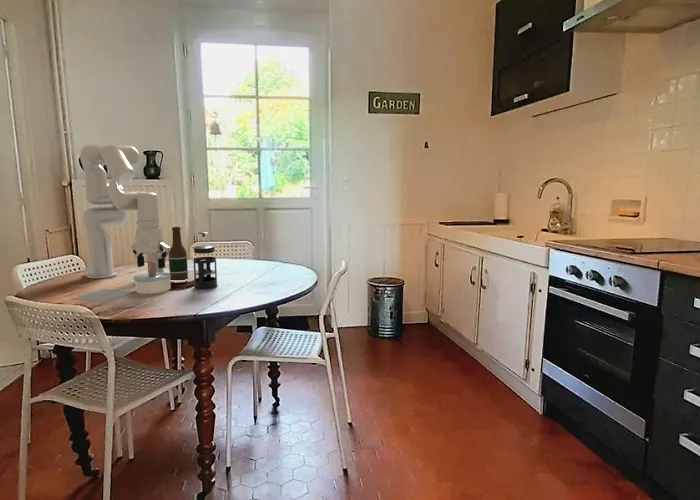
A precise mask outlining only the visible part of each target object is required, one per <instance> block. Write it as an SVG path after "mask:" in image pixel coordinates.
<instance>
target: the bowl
mask: <svg viewBox="0 0 700 500" xmlns="http://www.w3.org/2000/svg"><path fill="white" fill-rule="evenodd" d="M134 284H135V291H136V293H137V294H141V295H155V294H160V293H165V292H168V291H169V290H170V289H172V288H171V287H172V286H171V285H172V283H171V282H170V278H168V279H165V280H160V281H151V282H139V281H135V280H134Z"/></svg>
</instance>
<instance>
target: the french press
mask: <svg viewBox="0 0 700 500" xmlns="http://www.w3.org/2000/svg"><path fill="white" fill-rule="evenodd" d="M206 234H209V232H207V231H200V232H198V235H202V239H203V245H196V246H193V247H192V249H193V253H194V254H197V255H198V254H199V255H200V254H201V255H202V254H203V256H201V257H200V256H199V257H198V256H197V257H195V258H193V259H192V260H193V278H194V286H193V287H194V289H196V290H212V289H216V288H218V286H219V285H218V277H217V276H218V274H217V273H218V272H217V257H215V256H206V254H212V253H215V252H216V250H215V248H216V246H215V245H207V244H205V236H206ZM213 263H214V269H211V264H213ZM196 264H197V269H198V270H197V269H196ZM197 275H198V277H197ZM211 275H214V276H211Z"/></svg>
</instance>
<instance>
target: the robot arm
mask: <svg viewBox="0 0 700 500" xmlns="http://www.w3.org/2000/svg"><path fill="white" fill-rule="evenodd" d="M79 158H80V163H81V165H82V169H83V171H84V182H85V184H84V185H85V186H84V187H85V189H84V190H85V197H86V201H87V203H89V204H91V205H111V206H98V207H97V206H96V207H90V208H87V209H85V210H84V211H83V212H82V221H83V225H84V228H85V233H86V239H87V242H86V243H87V248H88V249H87V251H88V261H89V265H88V266H86V267H85V268H84V270H83V271H84V272H88V273H87V274H86V278H88V279H106V278H112V277H115V276H118V274H119V273H118V271H116V270H114V260H113V248H112V247H113V246H112V237H111V235H110V233H108V231H107V230H106V228H107V229H108V228H118V227H122V226H124V225H125V224H126V221H127V211H128V212H129V211H137V221H136V222H135V223H136V225H138V226H137V227H136V230H135V242H134V243H133V244H131V245H130V249H131V250H132V253H133V254H134V255H135V256H134V257H136V261H137V263H136V264H137V267H138V268H141V267H144V266H145V256H144V254H146V255H147V254H157V255H158V257H159V259H158V268H159V269H161V268H163V269H164V268H166V258H167V257H168V256H169V251H170V249H171V247H170V246H168V245H167V244H166V243H164V235H163V231H162V229H161V227H160V217H159V212H160V211H159V198H158V193H155V192H148V191H145V190H144V191H143V190H141V191H140V190H139V191H138V190H137V191H136V190H134V191H133V190H132V191H125V189H124V186H123V185H125V184H127V183H128V182H130V181H132V180H133V179H134V177H135V171H134V170H135V169H133V167H134V166H137V165H138V164H139V163H140V159H141V158H140V153H139V151H138V150H137V149H136V148H135V147H134V146H133V145H125V144H124V145H123V144H108V145H105V144H87V145H84V146H82V148H81V149H80V152H79ZM103 166H106V168H107V170H108V172H109V174H110V175H111V178H110V179H109V182H108V179H107V178H108V175H107V171H106V170H105V169H104V167H103Z"/></svg>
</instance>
